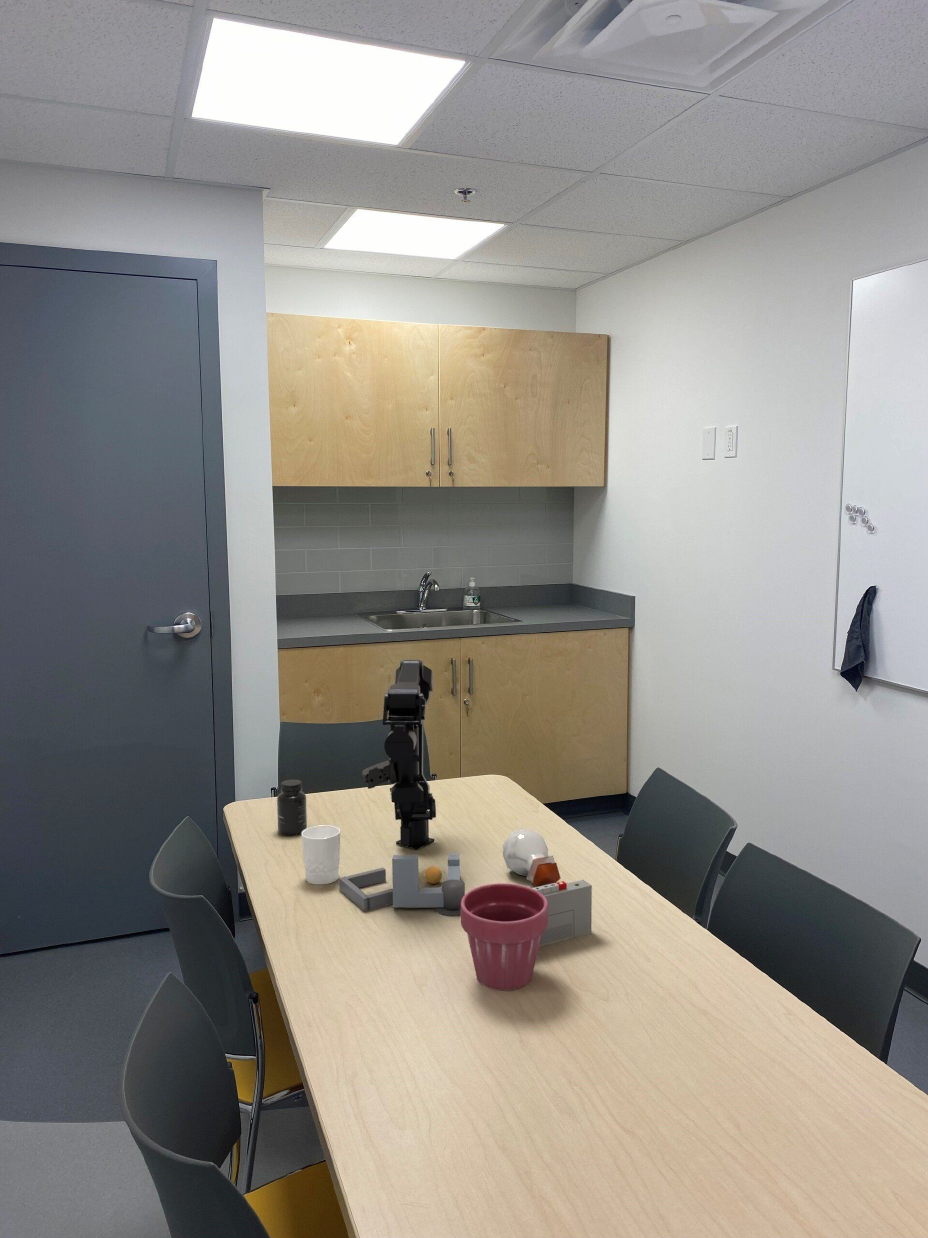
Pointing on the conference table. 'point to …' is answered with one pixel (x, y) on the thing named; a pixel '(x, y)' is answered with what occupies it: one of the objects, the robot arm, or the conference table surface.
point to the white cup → (321, 854)
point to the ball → (433, 874)
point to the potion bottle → (530, 857)
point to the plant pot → (504, 932)
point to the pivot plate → (448, 911)
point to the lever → (415, 897)
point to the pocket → (356, 881)
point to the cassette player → (567, 910)
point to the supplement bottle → (291, 808)
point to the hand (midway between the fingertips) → (405, 825)
